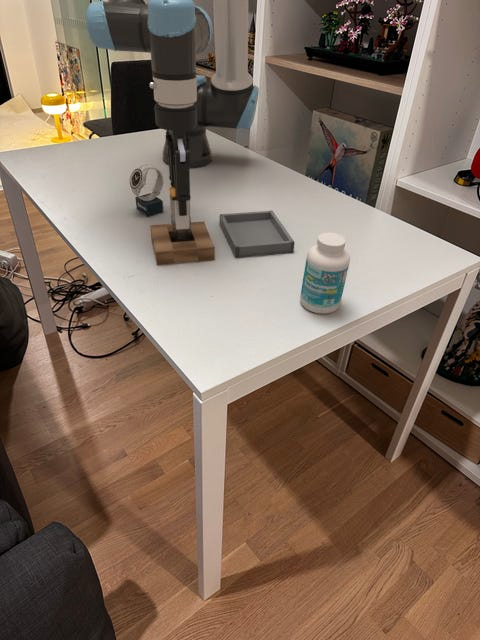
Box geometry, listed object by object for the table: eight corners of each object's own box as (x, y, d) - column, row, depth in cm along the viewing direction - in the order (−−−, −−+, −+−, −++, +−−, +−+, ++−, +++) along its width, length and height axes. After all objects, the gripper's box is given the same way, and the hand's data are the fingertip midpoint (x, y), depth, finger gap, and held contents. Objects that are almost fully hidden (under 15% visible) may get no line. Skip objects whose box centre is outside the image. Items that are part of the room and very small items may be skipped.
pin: (171, 238, 100) (168, 185, 93) (189, 237, 101) (187, 184, 94) (173, 247, 97) (170, 193, 90) (192, 246, 98) (191, 192, 91)
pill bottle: (295, 309, 84) (304, 243, 76) (305, 288, 90) (314, 225, 81) (335, 319, 82) (349, 253, 74) (343, 297, 88) (357, 233, 79)
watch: (129, 210, 114) (124, 166, 107) (157, 203, 118) (154, 160, 111) (141, 219, 110) (136, 174, 104) (169, 210, 115) (167, 166, 108)
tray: (219, 224, 110) (219, 214, 108) (271, 220, 113) (272, 210, 111) (235, 257, 98) (235, 247, 96) (293, 252, 100) (294, 242, 99)
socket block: (151, 237, 103) (150, 225, 101) (204, 233, 106) (203, 221, 104) (156, 265, 94) (155, 252, 92) (214, 259, 97) (214, 247, 95)
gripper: (149, 91, 88) (158, 206, 102) (159, 116, 75) (168, 244, 89) (188, 91, 89) (192, 204, 104) (205, 115, 76) (206, 241, 91)
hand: (181, 222), depth 96 cm, fingers closed on pin, 4 cm apart
